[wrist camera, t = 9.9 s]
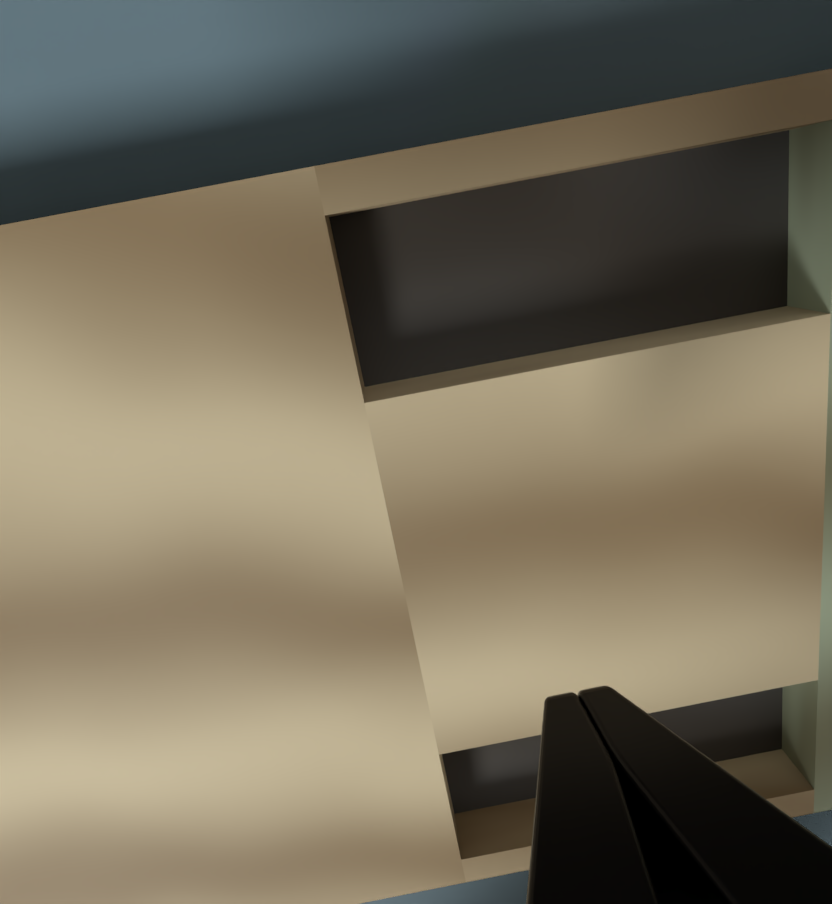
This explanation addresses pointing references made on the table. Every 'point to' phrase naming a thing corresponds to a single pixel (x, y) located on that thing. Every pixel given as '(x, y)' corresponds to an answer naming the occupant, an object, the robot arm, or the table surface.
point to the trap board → (411, 498)
